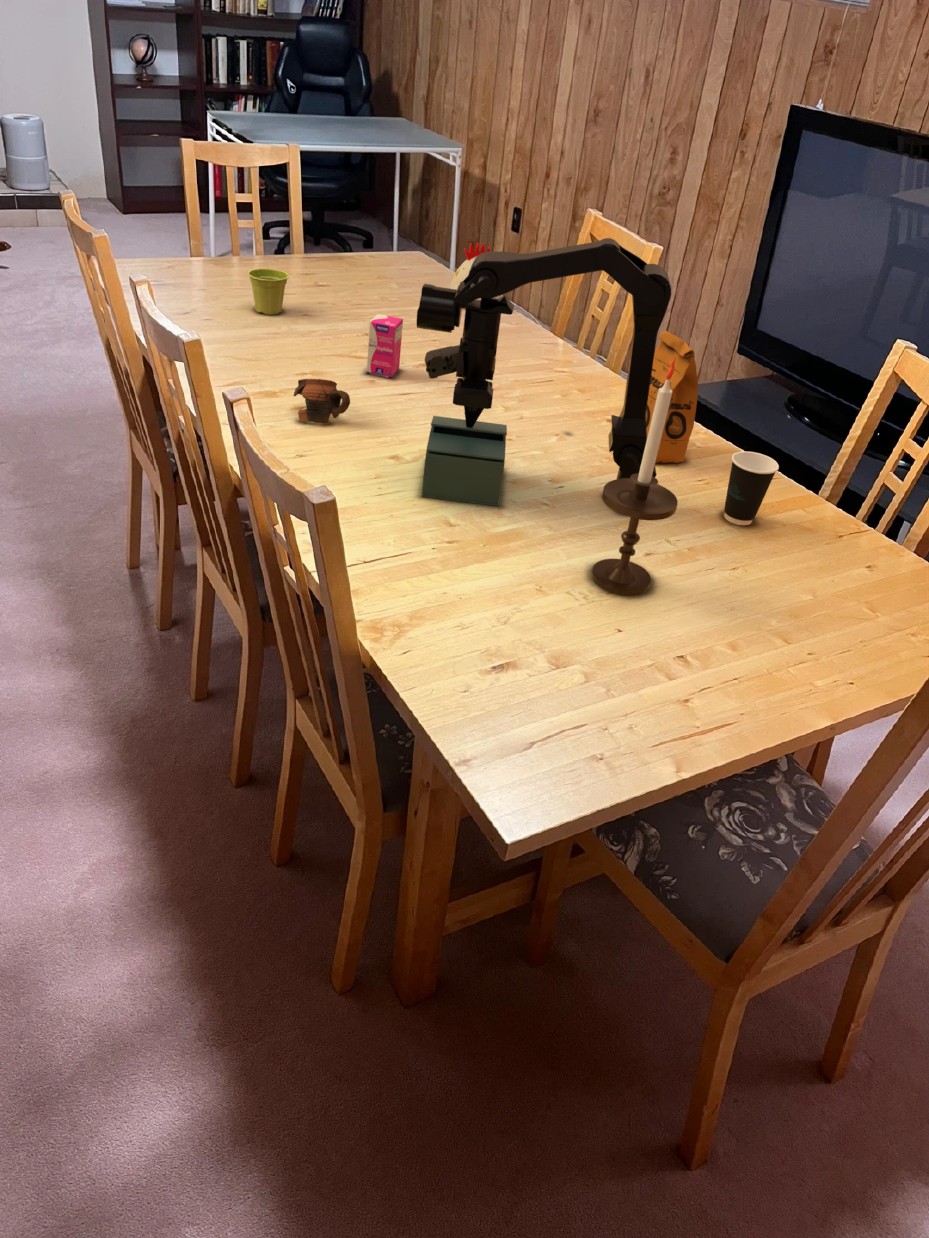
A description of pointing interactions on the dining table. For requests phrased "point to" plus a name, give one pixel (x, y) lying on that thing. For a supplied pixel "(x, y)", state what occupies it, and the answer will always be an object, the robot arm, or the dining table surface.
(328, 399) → the pottery mug
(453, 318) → the robot arm
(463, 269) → the kitchen timer
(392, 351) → the supplement box
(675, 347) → the coffee package
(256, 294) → the plant pot
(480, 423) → the flap
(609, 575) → the candlestick
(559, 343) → the dining table surface
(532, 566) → the dining table surface
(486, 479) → the carton
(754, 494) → the dixie cup
